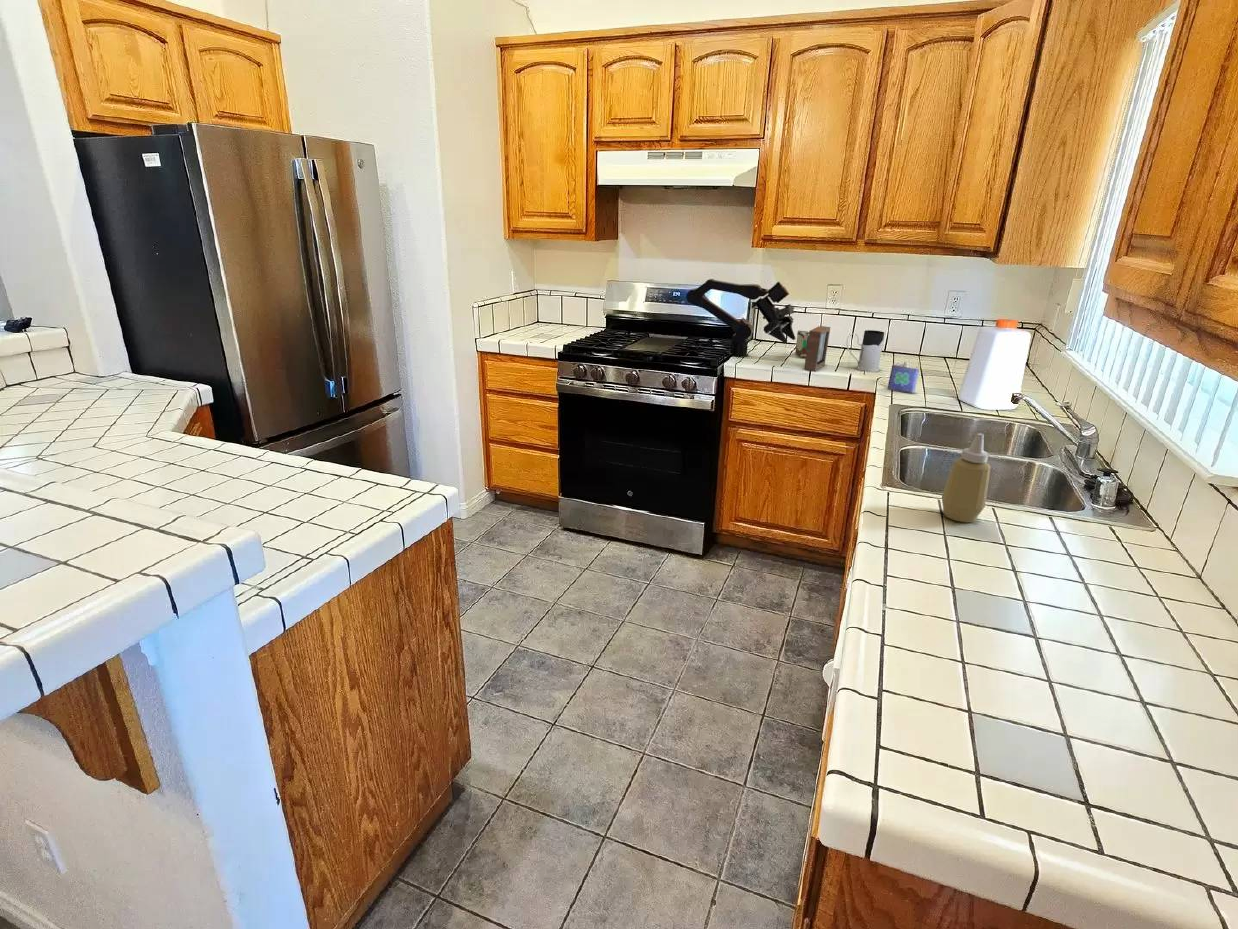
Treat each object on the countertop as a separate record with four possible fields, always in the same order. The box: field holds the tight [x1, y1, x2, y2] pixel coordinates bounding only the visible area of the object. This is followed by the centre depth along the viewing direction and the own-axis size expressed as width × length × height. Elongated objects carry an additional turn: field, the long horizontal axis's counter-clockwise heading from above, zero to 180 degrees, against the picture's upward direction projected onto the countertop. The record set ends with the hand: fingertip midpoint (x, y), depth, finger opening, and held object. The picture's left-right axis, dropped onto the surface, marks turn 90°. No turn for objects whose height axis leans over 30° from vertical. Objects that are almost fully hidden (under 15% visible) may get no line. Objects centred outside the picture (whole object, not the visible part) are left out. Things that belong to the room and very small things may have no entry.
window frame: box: [803, 325, 831, 372], centre depth 259 cm, size 15×4×15 cm, turn 149°
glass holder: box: [846, 329, 885, 373], centre depth 260 cm, size 9×14×15 cm, turn 77°
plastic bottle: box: [957, 318, 1032, 411], centre depth 213 cm, size 15×15×28 cm
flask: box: [887, 360, 920, 394], centre depth 228 cm, size 9×3×11 cm, turn 51°
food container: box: [794, 329, 810, 359], centre depth 280 cm, size 12×6×10 cm, turn 179°
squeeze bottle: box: [941, 432, 991, 523], centre depth 130 cm, size 8×8×18 cm
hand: (790, 340), depth 265 cm, fingers open, 9 cm apart
